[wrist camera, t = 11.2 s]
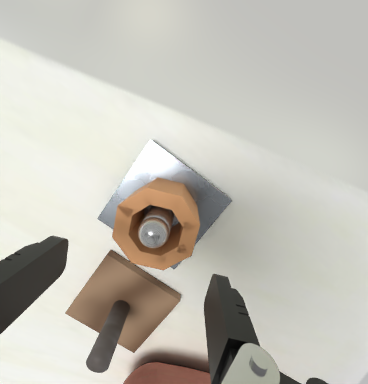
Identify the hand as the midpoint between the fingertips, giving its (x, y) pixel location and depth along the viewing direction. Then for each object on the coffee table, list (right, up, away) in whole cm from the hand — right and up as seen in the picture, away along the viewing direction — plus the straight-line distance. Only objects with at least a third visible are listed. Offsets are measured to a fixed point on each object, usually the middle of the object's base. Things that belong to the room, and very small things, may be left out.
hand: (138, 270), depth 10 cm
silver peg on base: (0, +3, +10) cm, 10 cm away
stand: (-5, -9, +13) cm, 17 cm away
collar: (0, +2, +9) cm, 9 cm away
